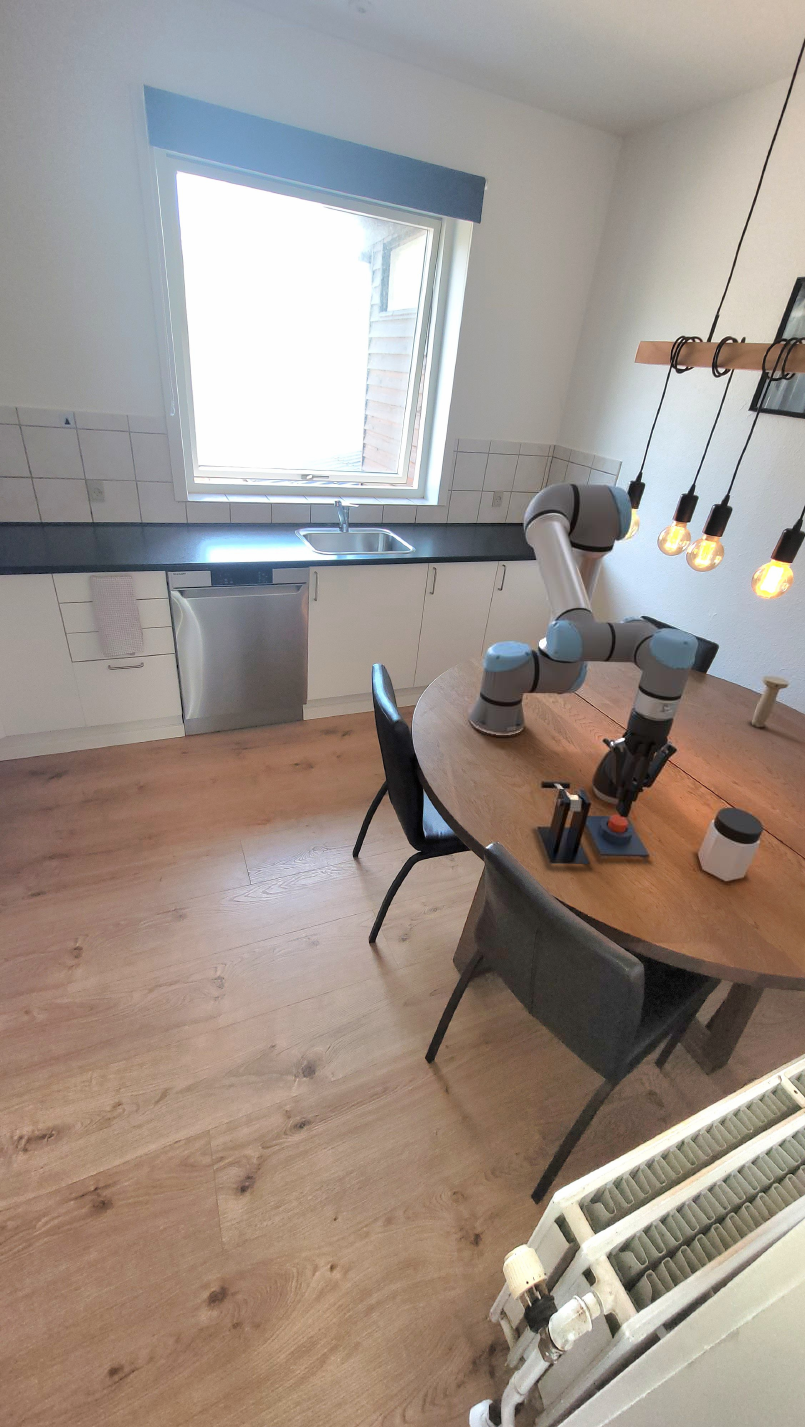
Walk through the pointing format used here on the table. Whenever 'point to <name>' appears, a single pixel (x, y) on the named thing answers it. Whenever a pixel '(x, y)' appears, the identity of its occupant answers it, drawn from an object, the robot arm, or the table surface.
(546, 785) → the tap lever
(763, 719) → the handle
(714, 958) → the table surface
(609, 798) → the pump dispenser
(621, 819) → the button
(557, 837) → the lever stand
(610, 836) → the button block
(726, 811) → the jar
